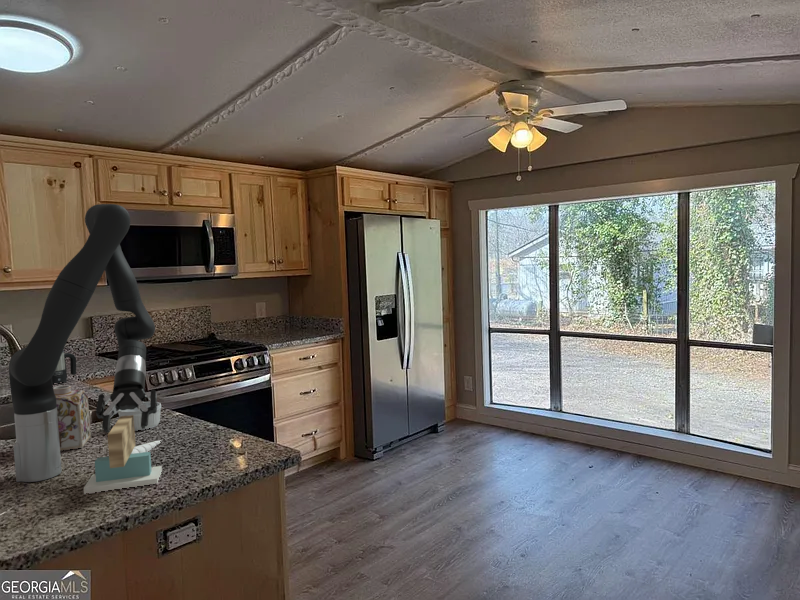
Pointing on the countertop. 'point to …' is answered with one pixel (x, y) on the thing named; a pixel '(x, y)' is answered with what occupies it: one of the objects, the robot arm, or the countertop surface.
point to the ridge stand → (123, 474)
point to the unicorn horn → (145, 447)
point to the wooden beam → (121, 441)
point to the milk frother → (64, 368)
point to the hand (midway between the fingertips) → (125, 429)
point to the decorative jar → (72, 417)
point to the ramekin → (152, 419)
